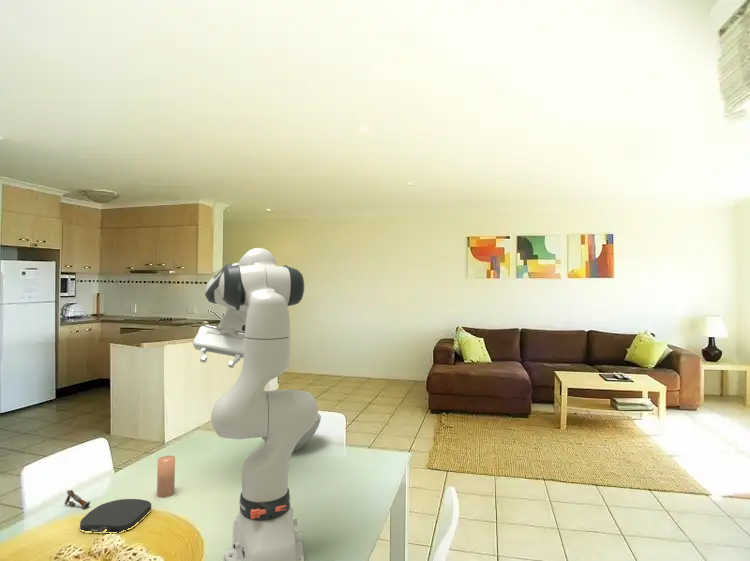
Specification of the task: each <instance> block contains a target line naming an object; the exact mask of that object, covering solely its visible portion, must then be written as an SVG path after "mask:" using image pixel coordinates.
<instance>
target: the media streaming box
mask: <svg viewBox="0 0 750 561" xmlns="http://www.w3.org/2000/svg"><path fill="white" fill-rule="evenodd" d="M150 510H151V511H152V503H151V501H149V500H145V499H140V498H121V499H116V500H111V501H107V502H105V503H102V504H99V506H96V507H95V508H93V509H92V510H91V511H89V512H88V513H87V514H85V516H84V517H83V518H82V519H81V520H80V522H79V526H80V527H79V530H80V529H81V530H84V531H92V532H103V531H104V530H105V529H107V531H106V532H117V533H119V532H121V531H123V530H127V529H128V528H131V527H132V526H134V525H135V524H136V523H137V522H139V521H140V520H141V519H142V518H143V517H144V516H145V515H146V514H147V513H148V512H149V511H150ZM119 534H120V533H119Z"/></svg>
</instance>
